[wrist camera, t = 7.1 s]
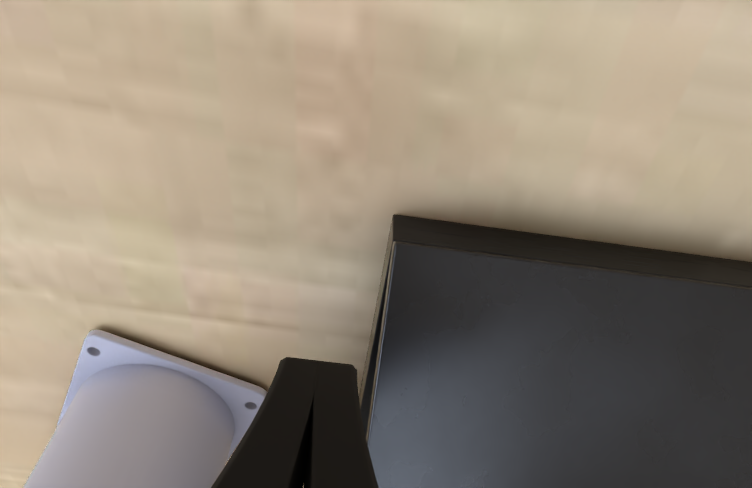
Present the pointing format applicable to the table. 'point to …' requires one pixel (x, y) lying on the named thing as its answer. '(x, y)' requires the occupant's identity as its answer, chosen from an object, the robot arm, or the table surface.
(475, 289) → the laptop screen
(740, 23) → the table surface
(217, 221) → the table surface
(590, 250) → the laptop
